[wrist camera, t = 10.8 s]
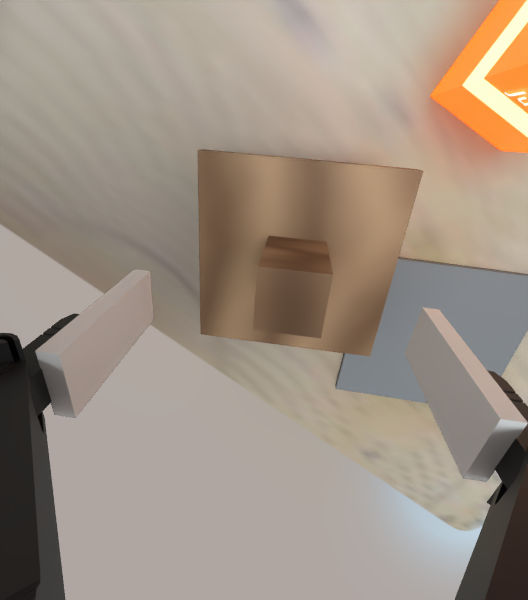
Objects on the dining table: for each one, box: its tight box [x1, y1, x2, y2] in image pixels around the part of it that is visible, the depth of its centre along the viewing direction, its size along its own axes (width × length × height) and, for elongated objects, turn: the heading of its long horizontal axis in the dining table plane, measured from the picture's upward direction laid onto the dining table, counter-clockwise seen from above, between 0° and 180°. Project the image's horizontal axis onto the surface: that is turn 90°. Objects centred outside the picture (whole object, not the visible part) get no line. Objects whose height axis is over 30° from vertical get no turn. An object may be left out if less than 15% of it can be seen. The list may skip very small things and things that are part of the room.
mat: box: [336, 257, 528, 403], centre depth 34 cm, size 17×17×1 cm
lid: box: [198, 150, 423, 357], centre depth 21 cm, size 14×14×7 cm
